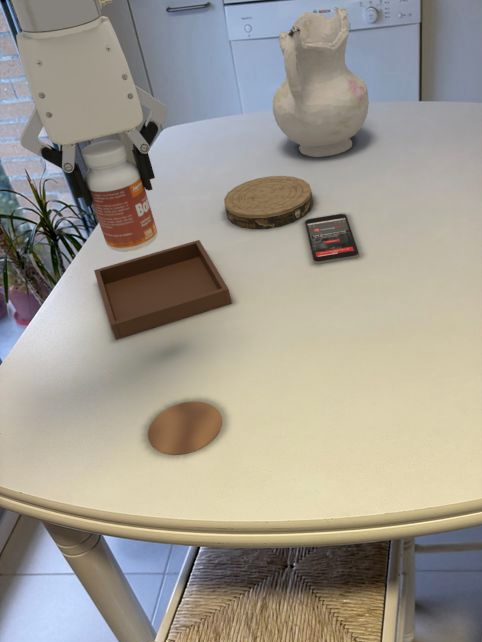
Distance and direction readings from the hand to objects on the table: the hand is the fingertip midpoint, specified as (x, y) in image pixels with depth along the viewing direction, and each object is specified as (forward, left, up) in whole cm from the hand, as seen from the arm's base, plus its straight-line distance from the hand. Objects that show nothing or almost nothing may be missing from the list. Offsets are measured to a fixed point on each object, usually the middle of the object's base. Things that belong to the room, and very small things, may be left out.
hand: (117, 192), depth 74 cm
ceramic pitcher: (+45, +54, -23) cm, 74 cm away
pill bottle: (0, 0, -6) cm, 6 cm away
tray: (+2, +16, -23) cm, 28 cm away
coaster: (-2, -16, -23) cm, 28 cm away
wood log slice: (+26, +34, -23) cm, 49 cm away
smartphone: (+31, +17, -23) cm, 42 cm away
